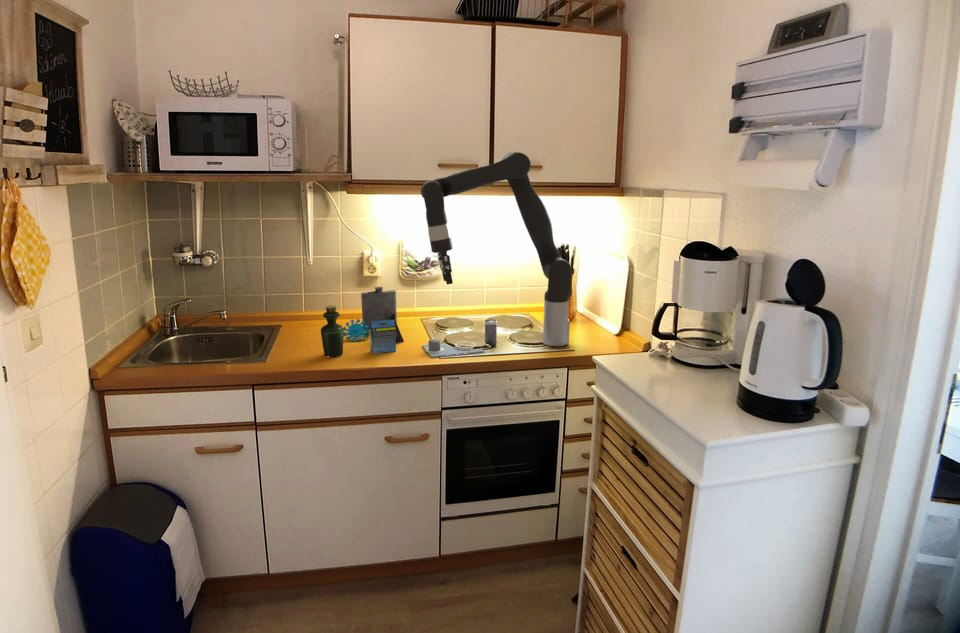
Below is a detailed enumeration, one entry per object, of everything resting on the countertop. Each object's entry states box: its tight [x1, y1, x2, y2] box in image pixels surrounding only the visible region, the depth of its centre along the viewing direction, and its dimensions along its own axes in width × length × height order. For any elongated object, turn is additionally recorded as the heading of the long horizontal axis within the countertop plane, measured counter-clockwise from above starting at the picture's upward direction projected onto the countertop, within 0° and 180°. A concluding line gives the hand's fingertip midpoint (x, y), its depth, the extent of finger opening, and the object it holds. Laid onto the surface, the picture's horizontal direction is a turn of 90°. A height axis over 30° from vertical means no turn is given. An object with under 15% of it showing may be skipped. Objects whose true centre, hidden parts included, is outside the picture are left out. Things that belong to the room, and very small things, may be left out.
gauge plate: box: [421, 338, 485, 359], centre depth 236 cm, size 20×14×4 cm
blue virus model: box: [343, 318, 370, 343], centre depth 249 cm, size 11×6×10 cm
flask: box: [360, 286, 398, 331], centre depth 260 cm, size 4×14×18 cm, turn 111°
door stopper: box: [382, 310, 405, 344], centre depth 245 cm, size 9×6×12 cm, turn 111°
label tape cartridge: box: [369, 320, 397, 354], centre depth 232 cm, size 9×4×12 cm, turn 109°
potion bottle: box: [320, 305, 345, 358], centre depth 227 cm, size 8×8×18 cm
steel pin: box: [484, 318, 498, 349], centre depth 240 cm, size 4×4×10 cm
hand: (448, 282), depth 227 cm, fingers open, 8 cm apart
